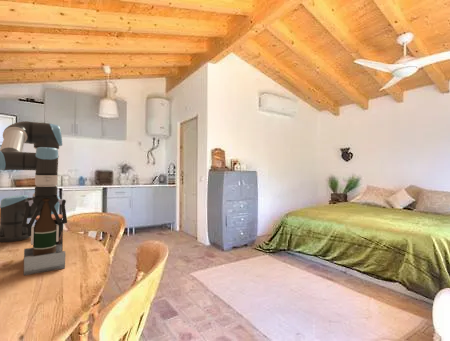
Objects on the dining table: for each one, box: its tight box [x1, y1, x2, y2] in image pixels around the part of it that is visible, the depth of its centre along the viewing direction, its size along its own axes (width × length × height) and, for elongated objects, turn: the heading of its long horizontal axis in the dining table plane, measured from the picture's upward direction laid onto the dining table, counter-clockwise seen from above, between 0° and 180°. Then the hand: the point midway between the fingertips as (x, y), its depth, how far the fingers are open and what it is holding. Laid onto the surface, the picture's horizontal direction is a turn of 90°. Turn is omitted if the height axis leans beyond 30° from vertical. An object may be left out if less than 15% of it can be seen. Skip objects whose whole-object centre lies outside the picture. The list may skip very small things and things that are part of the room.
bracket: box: [23, 244, 66, 276], centre depth 105 cm, size 13×13×6 cm
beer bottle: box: [32, 198, 56, 255], centre depth 105 cm, size 8×8×24 cm
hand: (44, 242), depth 105 cm, fingers closed on beer bottle, 7 cm apart
